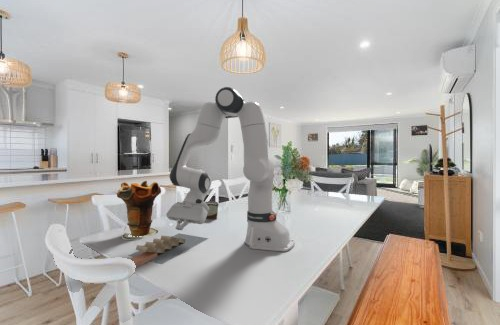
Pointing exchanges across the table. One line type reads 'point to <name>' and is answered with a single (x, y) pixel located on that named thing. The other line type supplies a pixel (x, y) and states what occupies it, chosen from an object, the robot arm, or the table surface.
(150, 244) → the domino
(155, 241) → the domino
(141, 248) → the domino
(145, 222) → the decorative vase
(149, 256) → the domino
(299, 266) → the table surface
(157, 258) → the mat
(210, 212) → the food container
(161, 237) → the domino
